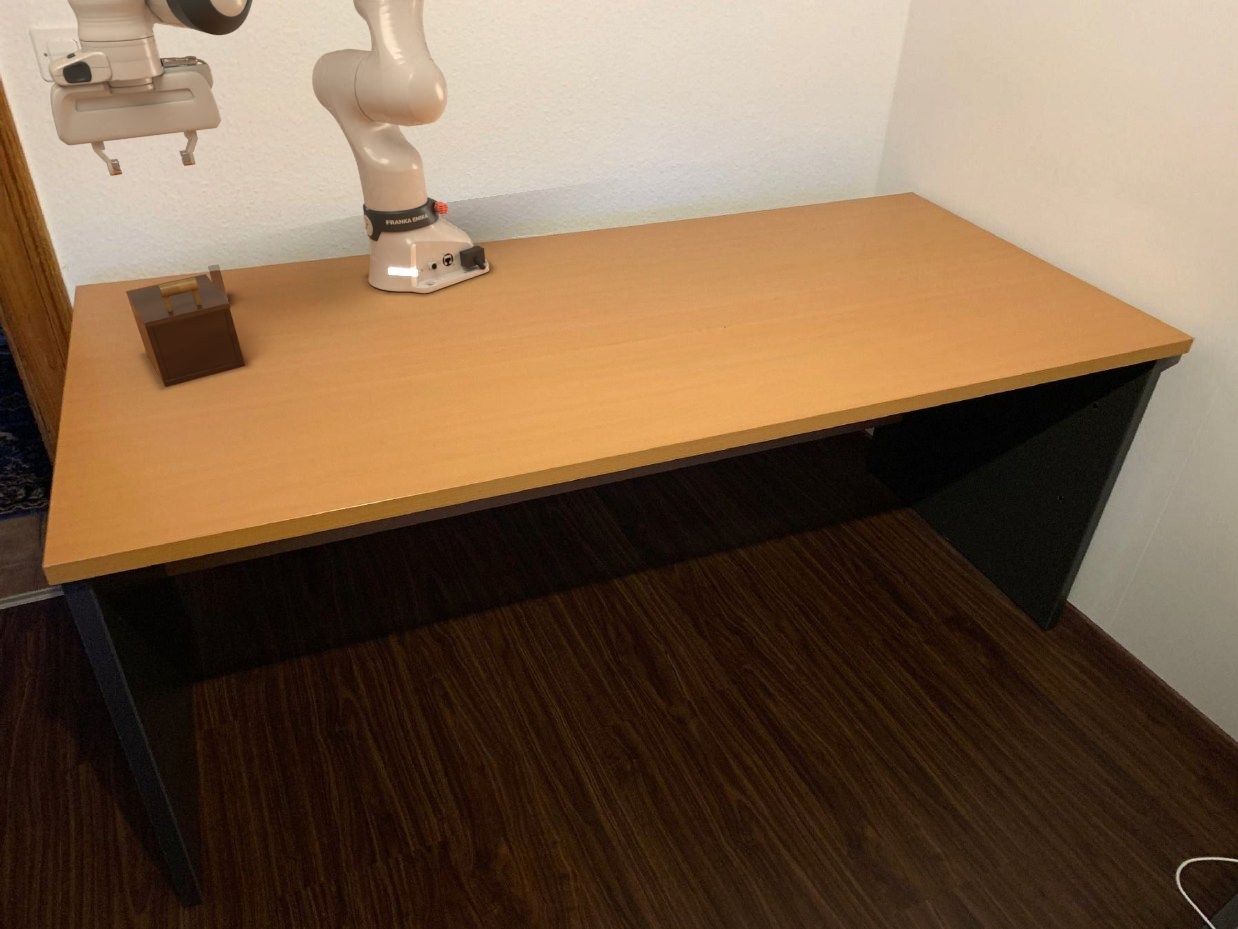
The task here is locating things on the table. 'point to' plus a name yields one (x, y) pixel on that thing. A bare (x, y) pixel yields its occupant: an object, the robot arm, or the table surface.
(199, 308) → the lid
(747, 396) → the table surface
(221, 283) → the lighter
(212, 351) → the chest
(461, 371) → the table surface
